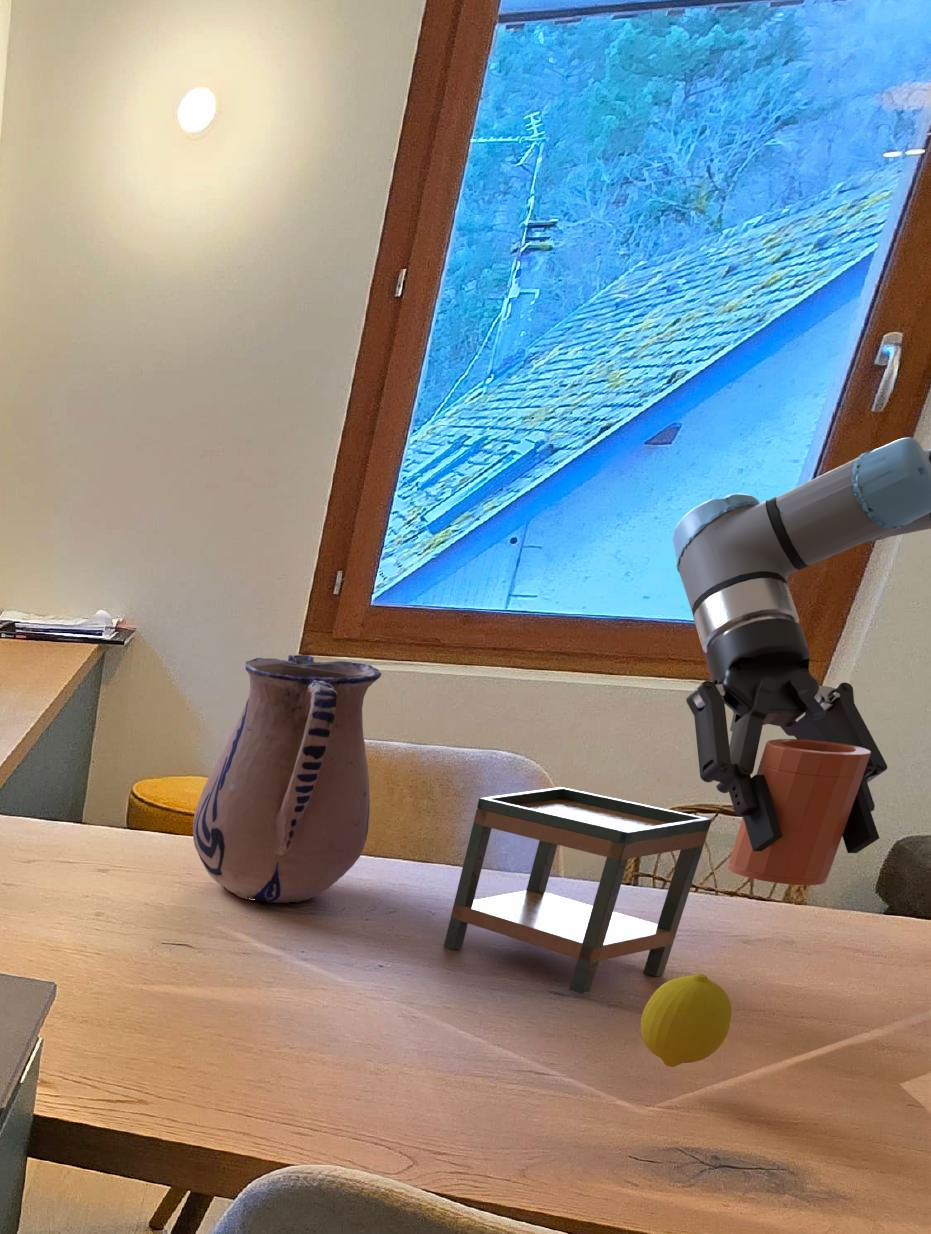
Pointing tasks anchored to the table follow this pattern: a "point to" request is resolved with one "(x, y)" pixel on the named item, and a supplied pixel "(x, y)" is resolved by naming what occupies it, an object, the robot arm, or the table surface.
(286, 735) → the ceramic pitcher
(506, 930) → the rack
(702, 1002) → the lemon
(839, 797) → the flower pot
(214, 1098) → the table surface
